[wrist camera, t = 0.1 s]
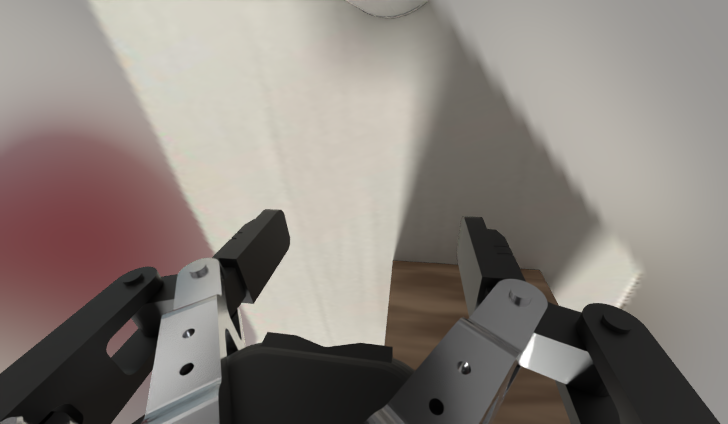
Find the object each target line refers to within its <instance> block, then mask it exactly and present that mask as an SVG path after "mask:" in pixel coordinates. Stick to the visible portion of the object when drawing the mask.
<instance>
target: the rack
mask: <svg viewBox="0 0 728 424" xmlns="http://www.w3.org/2000/svg"><path fill="white" fill-rule="evenodd" d="M520 270H521V272H522V274H523V276H524V278H525V280H526V282H527V283H530V284H532V285H533V286H535V287H536V288H538V289H539V290H540V291H541V292H542V293H543V294H544V295H545V297H546V299H547V301H548V302H550V303H553V304H555V305H558V303H557V301H556V299H555V298H554V296H553V294H552V292H551V290H550V288H549V286H548V285H547V283H546V281H545V279H544V277H543V275H542V273H541V272H540V270H528V269H520ZM558 306H559V305H558ZM462 317H464V318H466V319H468V318H469V314H468V309H467V305H466V300H465V295H464V290H463V285H462V280H461V275H460V271H459V266H458V265H453V264H437V263H422V262H407V261H393V265H392V275H391V285H390V295H389V306H388V316H387V326H386V336H385V346H390V347H393V358H395V359H397V360H400V361H401V362H403V363H405V364H407V365H408V366H410V367H411V368H413V369H414V370H415V371H416V369H417V368H418V367H419V366H420V365H421V363H422V362H423V361H424V360H425V359H426V358H427V356H428V355H429V354H430V353H431V352H432V351H433V349H434V348H435V347H436V346H437V345H438V343H439V342H440V341H441V340H442V339H443V338H444V336H445V335H446V334H447V333H448V332H449V330H450V329H451V328H452V327H453V326H454V325H455V323H456V322H457V321H458V320H459V319H460V318H462ZM492 424H571V423H570V420H569V418H568V415H567V412H566V409H565V407H564V404H563V401H562V399H561V396H560V393H559V390H558V388H557V385H556V382H555V380H554V379H552V378H549V377H547V376H545V375H542V374H540V373H537V372H535V371H532V370H530V369H527V368H525V367H521V369H520V371H519V373H518V374H517V376H516V378H515V380H514V382H513V384H512V386H511V387H510V389H509V391H508V393H507V395H506V397H505V399H504V400H503V402H502V404H501V406H500V408H499V410H498V412H497V414H496V416H495V418H494V420H493V422H492Z"/></svg>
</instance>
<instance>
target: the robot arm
mask: <svg viewBox="0 0 728 424" xmlns="http://www.w3.org/2000/svg"><path fill="white" fill-rule="evenodd" d="M345 1H347V2H349V3H351V4H352V5H354V6H356V7H358V8H359V9H361V10H362V11H363V12H365V13H367V14H370V15H373V16H377V17H381V18H396V17H400V16H405V15H407V14H409V13H411V12H413V11H415V10H417V9H418V8H420V7H421V6H422V5H424V4H425V3H426V2H427V1H428V0H345ZM289 246H290V236H289V232H288V228H287V224H286V219H285V215H284V212H283V211H282V210H270V209H265V210H264V211H263V212H262V213H261V214H260V215H259V216H258V217H257V218H256V219H254V220H252V221H250V222H249V223H247V224H245V225H244V226H243V227H242V228H241V229H240V230H239V231H238V232H237V233H236V234H235V235H234V236H233V237H232V239H230V240H229V241H228V242H227V243H226V244H225V245H224V246H223V247H222V248H221V249H220V250H219V251H218V252H217V253H216V254H215V255H214V256H213V257H212V258H203V259H199V260H197V261H194V262H192V263H190V264H188V265H187V266H185V267H184V268H183V269H182V270H181V271H180V272H179V273H178V274H176V275H170V276H164V277H161V276H160V275H159V273H158V272H157V270H156V269H155V268H153V267H142V268H138V269H135V270H133V271H130V272H128V273H126V274H124V275H122V276H121V277H119V278H118V279H117V280H115V281H114V282H113V283H112V284H111V285H109V286H108V287H107V288H106V289H105V290H103V291H102V292H101V293H99V294H98V295H97V296H96V297H94V298H93V299H92V300H91V301H90V302H88V303H87V304H86V305H85V306H83V307H82V308H81V309H80V310H78V311H77V312H76V313H75V314H73V315H72V316H71V317H70V318H69V319H67V320H66V321H65V322H64V323H62V324H61V325H60V326H59V327H57V328H56V329H55V330H54V331H53V332H51V333H50V334H49V335H48V336H46V337H45V338H44V339H43V340H41V341H40V342H39V343H38V344H36V345H35V346H34V347H33V348H31V349H30V350H29V351H28V352H27V353H25V354H24V355H23V356H22V357H20V358H19V359H18V360H17V361H15V362H14V363H13V364H12V365H11V366H9V367H8V368H7V369H6V370H4V371H3V372H2V373H1V374H0V424H111V423H112V421H113V420H114V419H115V418H116V416H117V415H118V414H119V412H120V411H121V410H122V409H123V407H124V406H125V404H126V403H127V402H128V401H129V399H130V398H131V397H132V395H133V394H134V393H135V392H136V390H137V389H138V388H139V386H140V385H141V384H142V382H143V381H144V380H145V378H146V377H147V376H148V375H149V373H150V372H151V371H152V370H153V372H152V378H151V384H150V390H149V397H148V403H147V409H146V414H145V415H143V416H142V417H141V418H139V419H138V420H136V421H135V422H134V423H132V424H492V422H493V420H494V418H495V416H496V414H497V412H498V410H499V408H500V406H501V404H502V402H503V400H504V399H505V397H506V395H507V393H508V391H509V389H510V387H511V386H512V384H513V382H514V380H515V378H516V376H517V374H518V373H519V371H520V369H521V367H525V368H527V369H530V370H532V371H535V372H537V373H540V374H542V375H545V376H547V377H549V378H552V379H554V380H555V382H556V385H557V388H558V390H559V393H560V396H561V399H562V401H563V404H564V407H565V409H566V412H567V415H568V418H569V420H570V423H571V424H720V423H719V422H718V420H717V419H716V418H715V417H714V415H713V414H712V412H711V411H710V410H709V408H708V407H707V406H706V405H705V403H704V402H703V401H702V399H701V398H700V397H699V395H698V394H697V393H696V392H695V390H694V389H693V388H692V386H691V385H690V384H689V382H688V381H687V380H686V378H685V377H684V376H683V375H682V373H681V372H680V371H679V369H678V368H677V367H676V366H675V364H674V363H673V362H672V360H671V359H670V358H669V356H668V355H667V354H666V353H665V351H664V350H663V349H662V347H661V346H660V345H659V343H658V342H657V341H656V339H655V338H654V337H653V335H652V334H651V333H650V332H649V330H648V329H647V328H646V327H645V325H644V324H642V323H641V322H640V321H639V320H638V319H637V318H635V317H634V316H632V315H631V314H629V313H627V312H626V311H624V310H622V309H619V308H617V307H614V306H611V305H607V304H602V303H593V304H589V305H587V306H585V307H584V309H583V311H582V313H581V312H578V311H575V310H571V309H568V308H565V307H561V306H558V305H555V304H553V303H550V302H548V301H547V299H546V297H545V295H544V294H543V293H542V292H541V291H540V290H539V289H538V288H536V287H535V286H533V285H532V284H530V283H527V282H526V280H525V278H524V276H523V274H522V272H521V270H520V268H519V266H518V264H517V262H516V260H515V258H514V256H513V253H512V251H511V249H510V248H509V245H508V243H507V241H506V239H505V237H504V236H502V235H501V234H500V233H499V232H498V231H496V230H491V229H487V228H486V225H485V223H484V220H483V218H482V217H462V220H461V225H460V232H459V239H458V245H457V261H458V266H459V271H460V275H461V280H462V285H463V290H464V295H465V300H466V305H467V309H468V314H469V318H468V319H466V318H464V317H462V318H460V319H459V320H458V321H457V322H456V323H455V325H454V326H453V327H452V328H451V329H450V330H449V332H448V333H447V334H446V335H445V336H444V338H443V339H442V340H441V341H440V342H439V343H438V345H437V346H436V347H435V348H434V349H433V351H432V352H431V353H430V354H429V355H428V356H427V358H426V359H425V360H424V361H423V362H422V363H421V365H420V366H419V367H418V368H417V369H416V371H415V370H414V369H413V368H411V367H410V366H408V365H407V364H405V363H403V362H401V361H400V360H397V359H395V358H393V347H390V346H382V345H373V344H365V343H356V344H348V345H340V346H332V347H323V346H321V345H318V344H316V343H313V342H311V341H309V340H306V339H304V338H301V337H299V336H297V335H288V334H280V333H271V332H267V334H266V336H265V338H264V340H263V342H262V343H258V344H254V345H250V346H248V347H246V346H245V339H244V333H243V326H242V320H241V313H240V310H239V308H238V307H239V306H240V304H241V303H251V304H254V302H255V301H256V299H257V298H258V296H259V294H260V293H261V291H262V290H263V288H264V287H265V285H266V284H267V282H268V280H269V279H270V277H271V276H272V274H273V273H274V271H275V269H276V268H277V266H278V265H279V263H280V262H281V260H282V259H283V257H284V255H285V254H286V252H287V251H288V249H289ZM130 318H132V320H133V321H134V323H135V324H136V325H137V326H138V330H137V331H136V332H135V333H134V334H133V335H132V336H131V337H130V338H129V339H128V340H127V341H126V342H125V343H124V344H123V346H122V347H121V348H120V349H119V350H118V351H117V352H116V353H115V354H114V355H113V356H112V357H111V358H110V357H109V355H108V354H107V352H106V347H107V344H108V342H109V340H110V339H111V338H112V336H113V335H114V334H115V333H116V332H117V331H118V330H119V329H120V328H121V327H122V326H123V325H124V324H125V323H126V322H127V321H128V320H129V319H130Z"/></svg>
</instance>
